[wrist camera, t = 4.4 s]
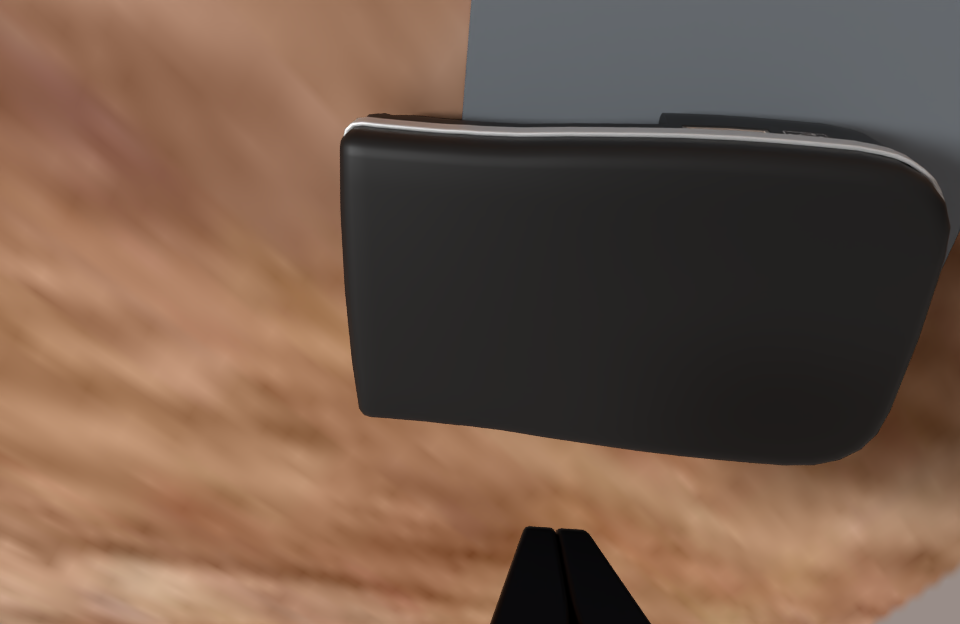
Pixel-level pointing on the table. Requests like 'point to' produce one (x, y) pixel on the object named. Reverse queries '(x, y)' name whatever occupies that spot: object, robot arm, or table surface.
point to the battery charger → (638, 280)
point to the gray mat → (728, 67)
